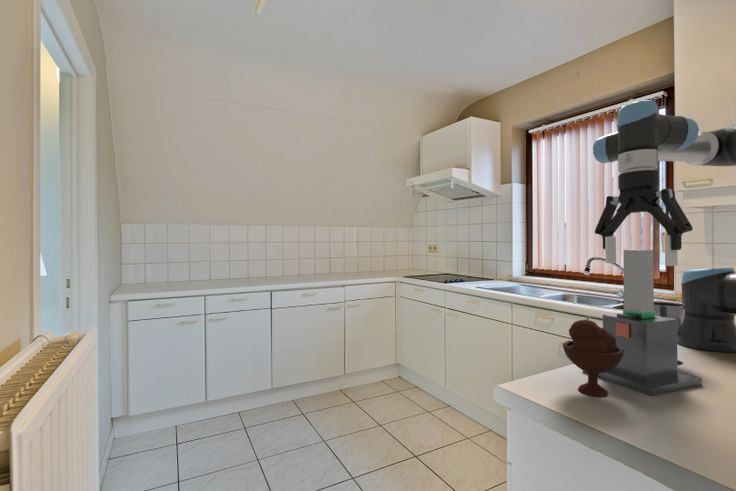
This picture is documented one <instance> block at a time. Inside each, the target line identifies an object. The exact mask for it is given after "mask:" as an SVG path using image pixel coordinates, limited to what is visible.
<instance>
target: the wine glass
mask: <svg viewBox="0 0 736 491" xmlns="http://www.w3.org/2000/svg"><path fill="white" fill-rule="evenodd" d="M654 312H655V316H660V317H666V318H672V319H677V330H679V329H680V328H681V327H682V325H683V322H684V317H685V305H684V304H682V303H680V302H672V301H659V300H658V301H655V300H654ZM683 364H684V362H683V361H681V360H680V359H677V366H681V365H683Z"/></svg>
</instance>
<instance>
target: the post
mask: <svg viewBox="0 0 736 491" xmlns="http://www.w3.org/2000/svg"><path fill="white" fill-rule="evenodd" d="M654 287H655V286H654V249H623V310H622V313H625V314H631V315H637V319H639V320H648V319H654V317H655V312H654V301H655V300H654V292H655V290H654Z"/></svg>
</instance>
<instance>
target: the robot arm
mask: <svg viewBox="0 0 736 491" xmlns="http://www.w3.org/2000/svg"><path fill="white" fill-rule="evenodd" d="M617 112H618V113H617V124H616V127H617V128H616V129H617V131H616V132H612V133H608V134H606V135H603V136H601V137H599V138H597V139H596V140H595V141H594V143H593V146H592V151H593V153H592V155H593V157H594V158H595V160H596V161H597V162H599V163H602V164H609V163H611V164H612V163H614V162H617V168H618V170H617V171H618V172H619V175H618V176H617V177H618V178H617V181H618V182H617V183H618V184H617V185H618V186H617V187H618V190H619V195H618V196H617V195H608V196H606V198H605V199H606V200H605V206H604V208H603V212H602V213H601V216H600V218H599V220H598V222H597V225H596V227H595V229H594V234H595V235H599V236H601V237H602V248H603V250H604V251H605V257H604V258H605V260H604V261H605V264H614V263H615V264H616V263H617V236H615V233H616V231H617V230H618V228H619V227H620V226H621V224H622V223H623V222H624V221H625V220H626V218H627V217H628V216H630V215H631V214H632V213H633V214H635V213H636V214H637V213H648V214H650V215H651V216H652V217H653V218H654V219H655V220H656V221H657V222H658V224H660V225H661V226H662V227H663V229H664V230H665V231H667V235H665V236H664V247H665V248H664V254H665V255H664V256H665V261H664V262H665V266H666V267H674V266H675V267H676V266H678V265H679V264H678V260H679V259H678V251H681V250H682V244H683V243H682V241H683V240H682V236H683V234H684V233H687V232H692V231H693V228H694V227H693V225H692V223H691V222H690V221H689V219H688V217H687V215H686V214H685V213H684V211H683V209H682V207H681V205H680V204H679V202H678V201H677V198H676V194H675V193H676V192H675V190H674V189H671V188H662V189H661V190H658V187H659V184H660V183H659V182H660V181H659V171H657V169H658V168H659V162H685V163H687V164H688V165H691V166H708V167H736V124H734V125H730V126H726V127H723V128H719V129H716V130H711V131H700V129H699V125H698V123H697V122H696V121H695V120H694V119H692V118H688V117H684V116H682V115H681V116H680V115H669V114H660V113H659V108H658V104H657V103H656V101H655V100H650V99H649V100H647V99H646V100H639V101H638V100H637V101H634V102H630V103H628V104H625V105H623V106H622V107H620V108H619V110H618V111H617ZM659 199H660V200H661V201H662V203H663V205H664V208H666V210H667V212H668V214H669V215H668V214H667V213H666V212H665V211H664V210H663V209H662V207H661V206H660V204H658V203H657V201H658V200H659ZM619 204H620V205H619ZM618 205H619V207H618ZM615 212H616V213H615ZM681 275H682V276H681V283H680V286H681V304H684V305H685V317H684V322H683V325H682V327H681V328H680V329H679V330H677V345H678V344H679V345H681V346H684V347H685V346H686V347H689V348H692V349H697V350H705V351H712V352H722V353H723V352H724V353H736V323H735V315H736V270H735V269H734V268H733V267H713V268H699V269H698V268H697V269H688V270H685V271H684V272H683V273H682V274H681Z"/></svg>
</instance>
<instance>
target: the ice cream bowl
mask: <svg viewBox="0 0 736 491" xmlns="http://www.w3.org/2000/svg"><path fill="white" fill-rule="evenodd" d="M568 334H569V335H568V336H569V337H570V338H571V340H567V341H565V342H563V343H562V348H563V351H564V354H565V356H566V357H567V359H569V361H571V363H572V364H574V365H575V366H576V367H578V368H579V369H580V370H581V371H583V370H584V371H586V372H587V373H586V372H585V373H586V374H587V382H585V383H583V384H580V385H579V386H578V388H577V390H578V391H579V392H580V393H581V394H584V395H586V396H589V397H596V398H603V397H607V396H608V395H609V392H608V390H607V389H606V388H605V387H603V386H601V385H600V384H599V382H598V381H599V380H598V378H599V377H598V375H599V373H605V372H608V371H610V370H612V369H613V368H614V367H615V366H617V365H618V364H619V363H620V361H621V359H622V357H623V354H624V349H622V348H620V347H618V346H616V338H615V337H614V336H613V335H612V334H611V333H609V332H608V331H607V330H605V329H603V327H601V326H599V325H598V324H597V323H596V322H594V321H592V320H588V319H579V320H576V321H574V322H573V323H571V326H570V327H569V329H568Z"/></svg>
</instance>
